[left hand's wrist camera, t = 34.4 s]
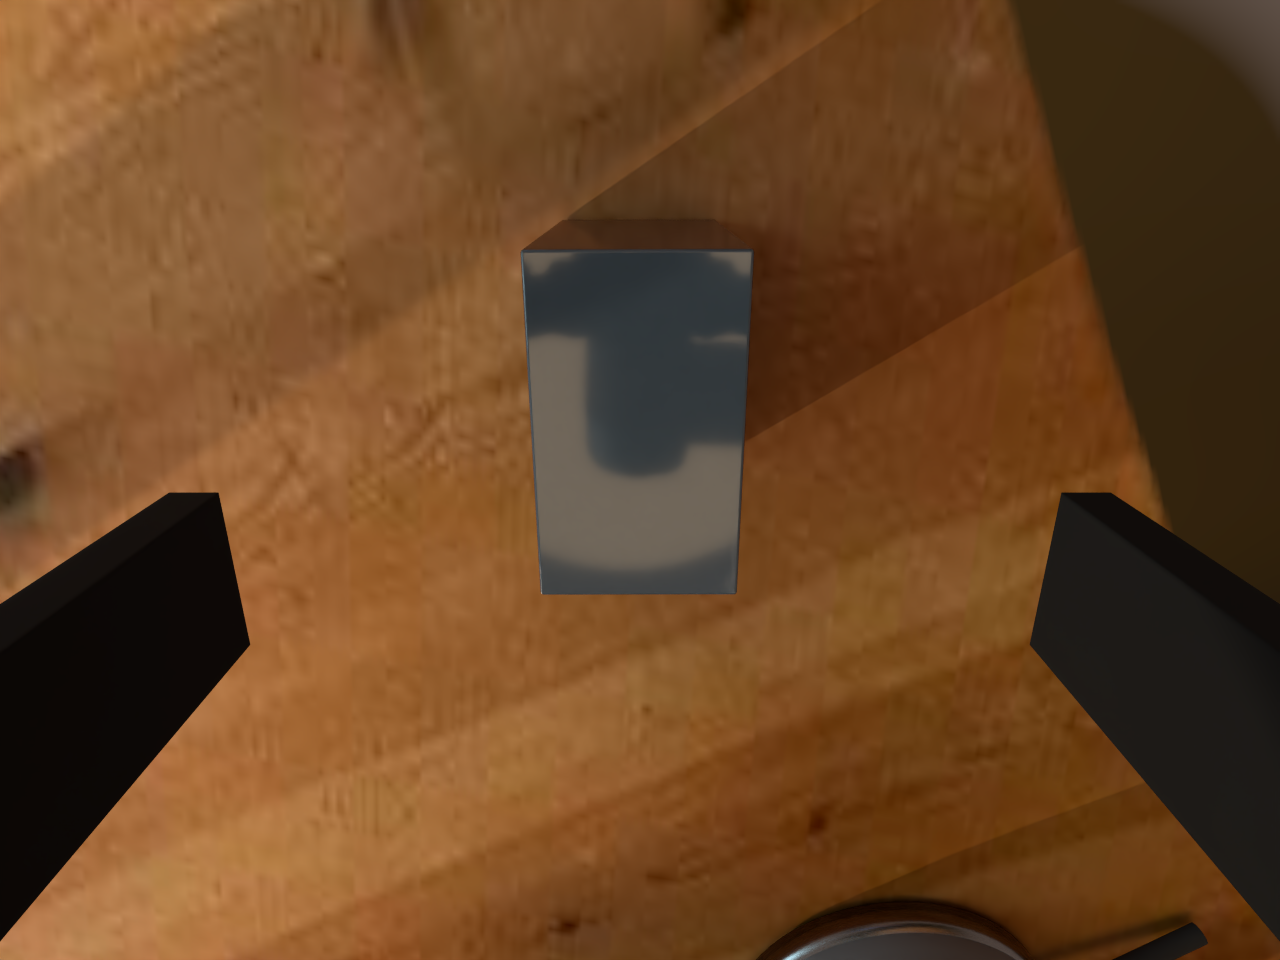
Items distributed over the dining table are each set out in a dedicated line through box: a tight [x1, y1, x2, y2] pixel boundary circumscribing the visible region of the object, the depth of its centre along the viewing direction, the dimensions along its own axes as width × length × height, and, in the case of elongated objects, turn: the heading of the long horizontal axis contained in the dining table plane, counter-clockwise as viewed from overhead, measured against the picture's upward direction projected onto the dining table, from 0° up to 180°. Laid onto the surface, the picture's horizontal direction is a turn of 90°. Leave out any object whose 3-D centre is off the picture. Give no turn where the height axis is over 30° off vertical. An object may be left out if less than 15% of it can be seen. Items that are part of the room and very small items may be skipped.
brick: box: [521, 220, 754, 594], centre depth 22 cm, size 5×8×9 cm, turn 0°
